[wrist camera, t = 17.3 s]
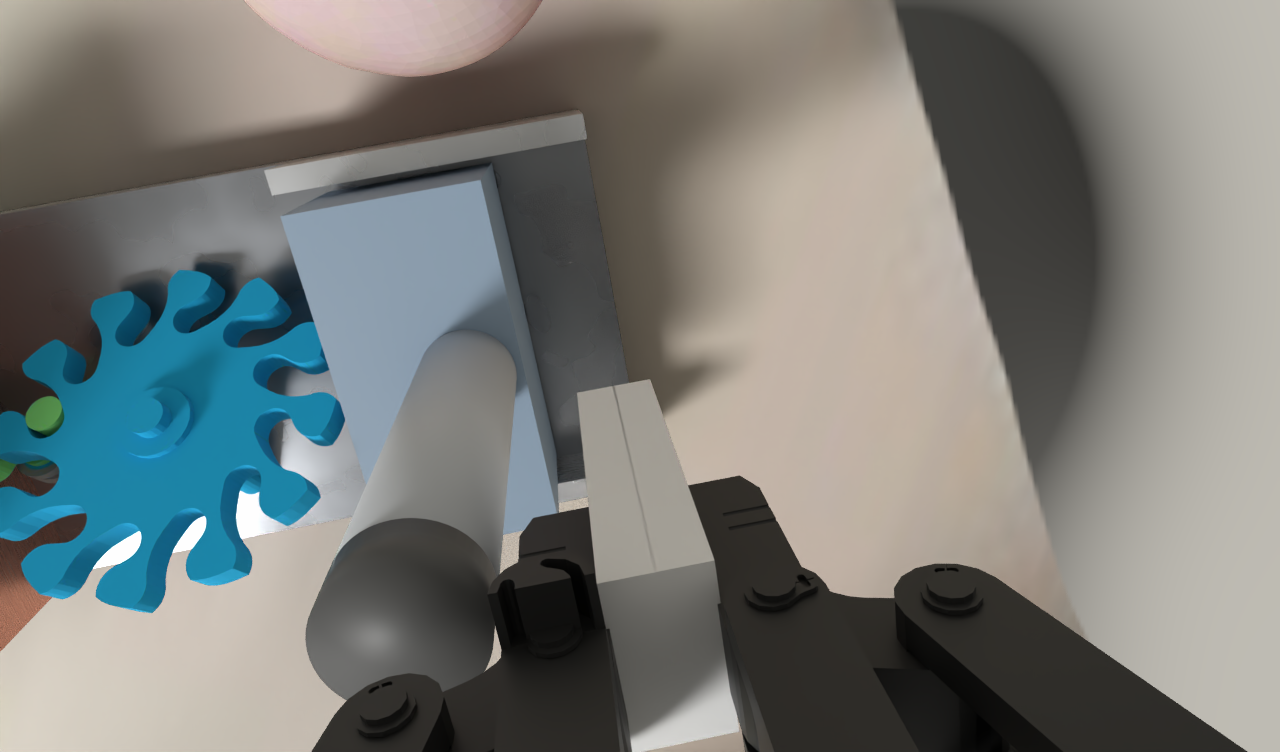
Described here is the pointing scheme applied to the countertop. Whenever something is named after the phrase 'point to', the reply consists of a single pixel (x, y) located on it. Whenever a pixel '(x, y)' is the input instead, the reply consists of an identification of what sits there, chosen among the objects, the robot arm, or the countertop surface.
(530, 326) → the frame
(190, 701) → the countertop surface
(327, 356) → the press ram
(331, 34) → the decorative fruit
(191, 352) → the gear
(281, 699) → the countertop surface
